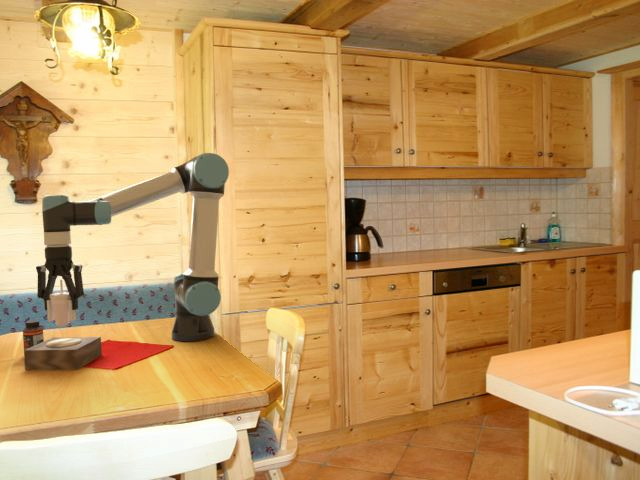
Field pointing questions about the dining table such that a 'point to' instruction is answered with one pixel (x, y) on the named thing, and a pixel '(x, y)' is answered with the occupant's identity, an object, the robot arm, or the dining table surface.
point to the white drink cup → (60, 307)
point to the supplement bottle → (32, 334)
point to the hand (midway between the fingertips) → (62, 320)
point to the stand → (62, 353)
